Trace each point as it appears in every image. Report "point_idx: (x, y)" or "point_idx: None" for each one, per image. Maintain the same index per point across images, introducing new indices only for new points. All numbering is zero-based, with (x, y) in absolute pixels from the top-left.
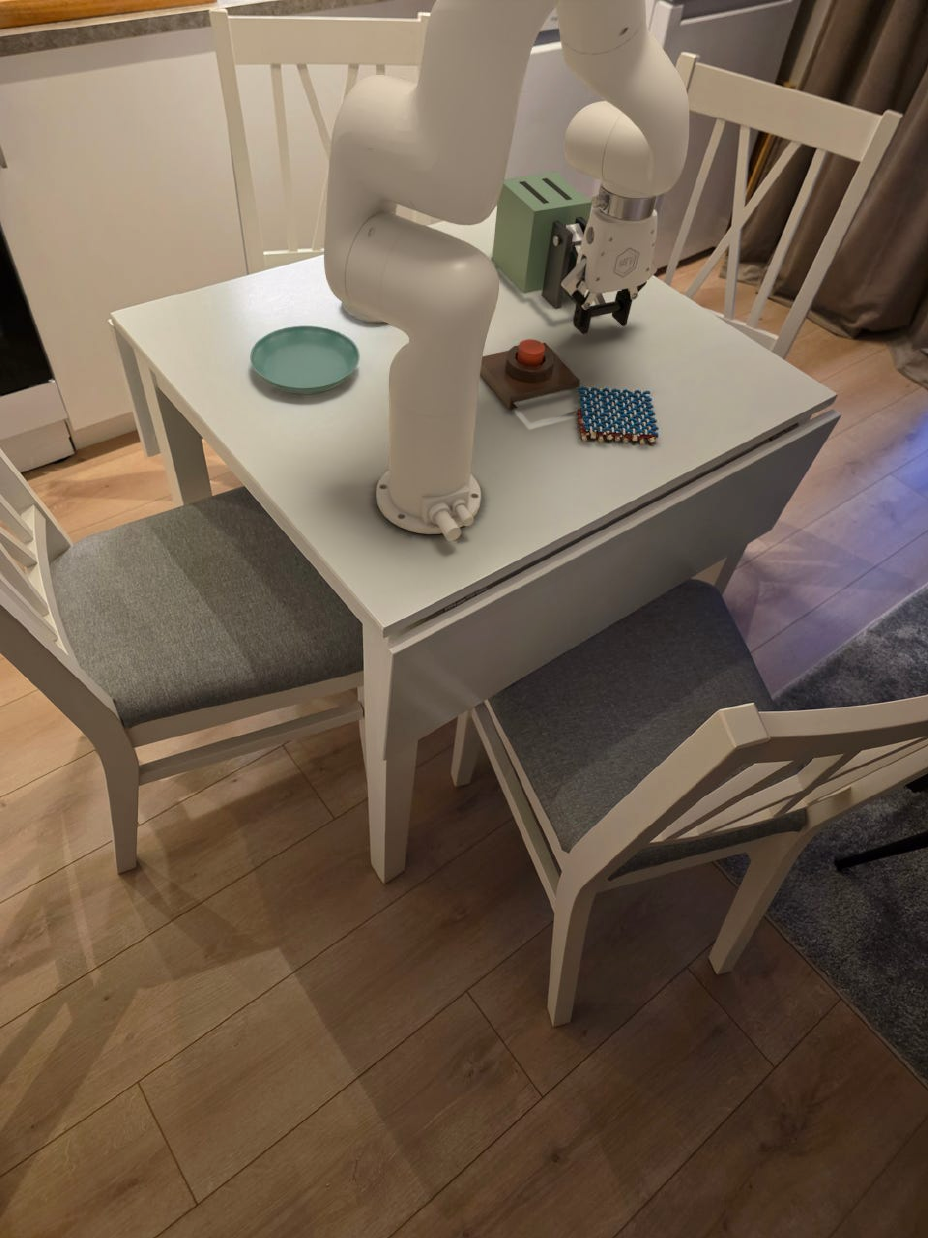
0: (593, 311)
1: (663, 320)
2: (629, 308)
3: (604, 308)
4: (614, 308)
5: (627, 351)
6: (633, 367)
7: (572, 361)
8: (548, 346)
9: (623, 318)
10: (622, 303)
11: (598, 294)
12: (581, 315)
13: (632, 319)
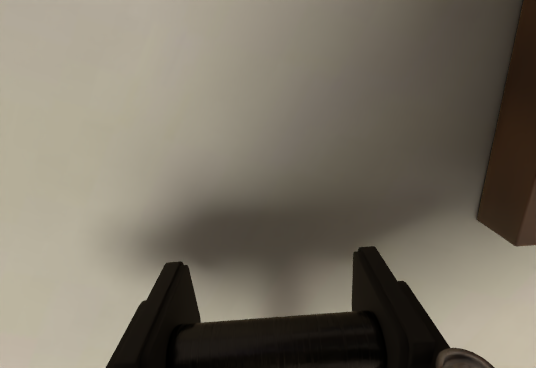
0: (354, 336)
1: (6, 291)
2: (141, 323)
3: (284, 345)
4: (221, 338)
5: (188, 174)
6: (208, 74)
7: (406, 168)
8: (524, 221)
9: (178, 285)
10: (166, 361)
11: None
12: (428, 322)
13: (107, 313)
